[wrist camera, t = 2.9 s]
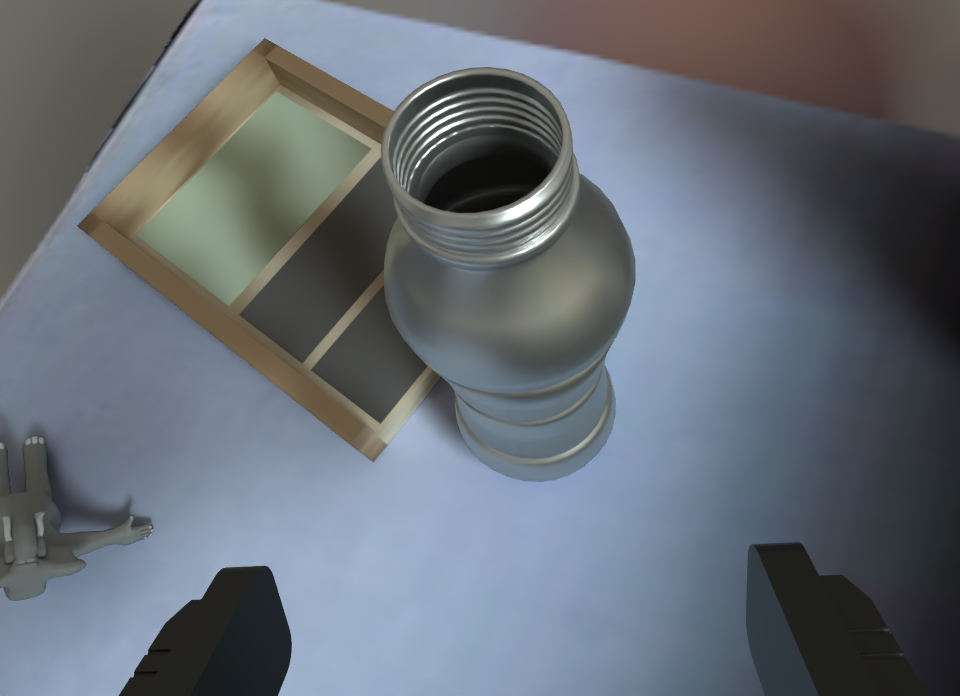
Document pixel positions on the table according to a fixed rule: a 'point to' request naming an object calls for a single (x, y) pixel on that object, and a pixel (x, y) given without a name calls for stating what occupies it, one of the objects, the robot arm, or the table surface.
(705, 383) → the table surface
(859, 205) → the table surface
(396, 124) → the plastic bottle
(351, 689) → the table surface
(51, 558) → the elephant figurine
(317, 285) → the box
